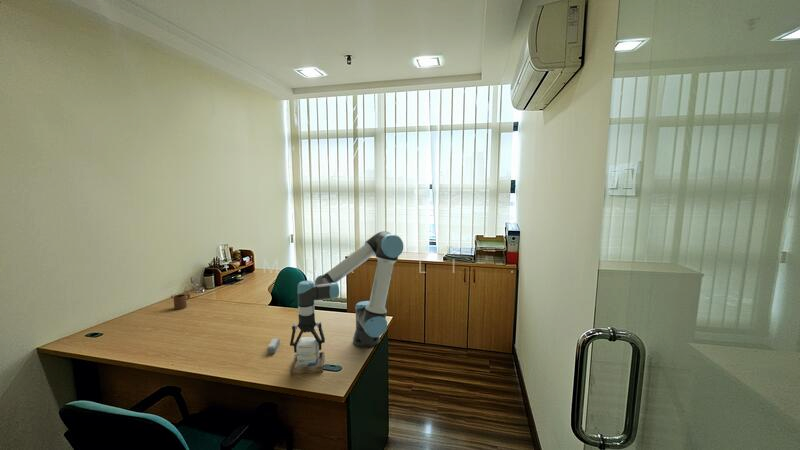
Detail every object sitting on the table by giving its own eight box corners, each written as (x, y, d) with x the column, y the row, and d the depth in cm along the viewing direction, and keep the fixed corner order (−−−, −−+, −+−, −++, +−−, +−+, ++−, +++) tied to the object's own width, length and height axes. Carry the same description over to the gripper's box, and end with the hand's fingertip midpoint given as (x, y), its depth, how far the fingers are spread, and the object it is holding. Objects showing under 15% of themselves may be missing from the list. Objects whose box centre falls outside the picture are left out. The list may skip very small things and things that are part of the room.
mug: (186, 303, 241) (185, 291, 240) (194, 304, 239) (193, 292, 238) (171, 309, 229) (170, 297, 228) (180, 310, 227) (179, 297, 226)
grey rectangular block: (273, 345, 175) (272, 337, 175) (279, 344, 176) (279, 337, 175) (267, 354, 165) (267, 346, 165) (274, 354, 166) (274, 346, 165)
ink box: (318, 358, 158) (318, 336, 157) (315, 367, 150) (314, 344, 149) (301, 358, 158) (301, 336, 157) (297, 368, 150) (296, 344, 148)
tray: (324, 357, 162) (324, 351, 162) (322, 371, 149) (322, 365, 148) (295, 359, 160) (294, 354, 159) (290, 375, 146) (290, 369, 146)
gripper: (329, 308, 157) (331, 351, 159) (284, 311, 153) (286, 355, 155) (329, 314, 150) (330, 359, 152) (281, 317, 146) (283, 363, 148)
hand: (308, 357), depth 154 cm, fingers closed on ink box, 9 cm apart
